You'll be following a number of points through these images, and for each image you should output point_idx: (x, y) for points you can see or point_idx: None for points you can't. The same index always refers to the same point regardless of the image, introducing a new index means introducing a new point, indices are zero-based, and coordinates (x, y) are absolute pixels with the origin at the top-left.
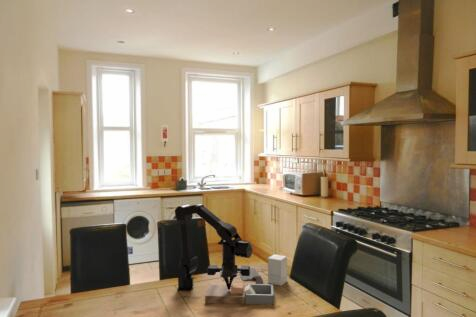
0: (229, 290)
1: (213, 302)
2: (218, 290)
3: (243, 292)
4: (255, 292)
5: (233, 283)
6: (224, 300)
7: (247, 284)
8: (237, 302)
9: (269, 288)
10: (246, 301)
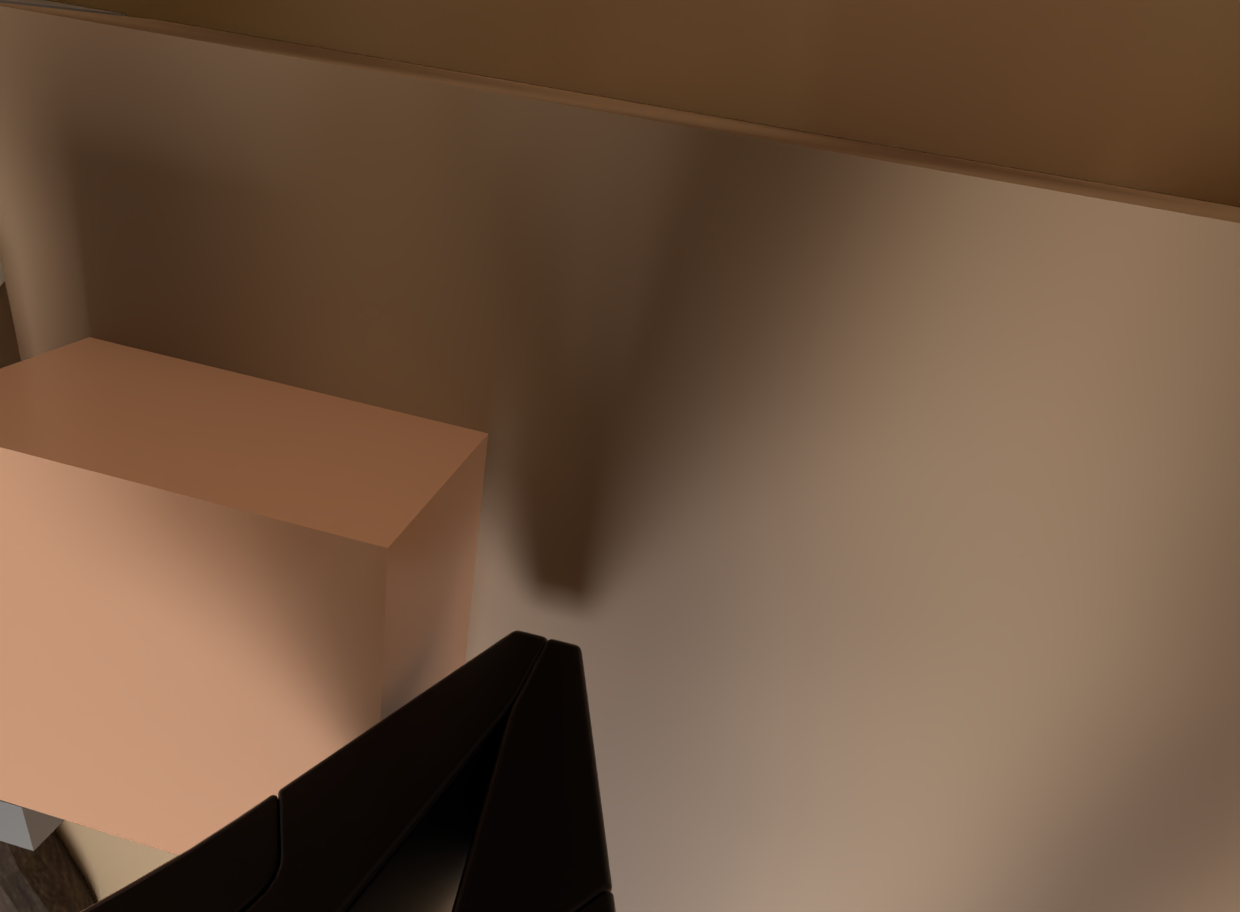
0: None
1: (1204, 202)
2: (946, 733)
3: None
4: None
5: None
6: (788, 135)
7: (5, 808)
8: (343, 54)
9: None
10: (32, 4)
